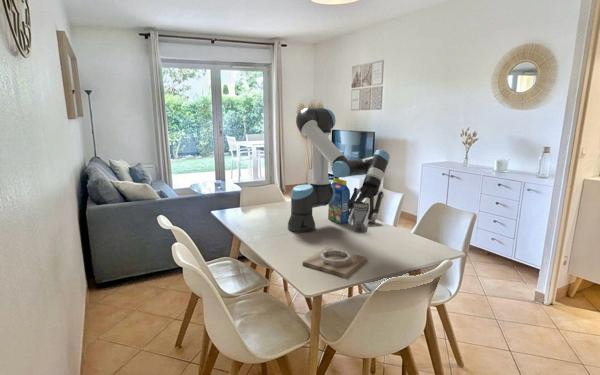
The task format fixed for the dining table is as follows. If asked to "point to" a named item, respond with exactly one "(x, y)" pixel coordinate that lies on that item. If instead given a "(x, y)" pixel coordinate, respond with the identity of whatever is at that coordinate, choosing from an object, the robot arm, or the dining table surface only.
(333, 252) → the steel ring
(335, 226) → the dining table surface
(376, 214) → the ceramic sculpture
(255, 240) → the dining table surface
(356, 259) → the walnut board
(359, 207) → the cylinder
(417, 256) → the dining table surface
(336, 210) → the blue food package
